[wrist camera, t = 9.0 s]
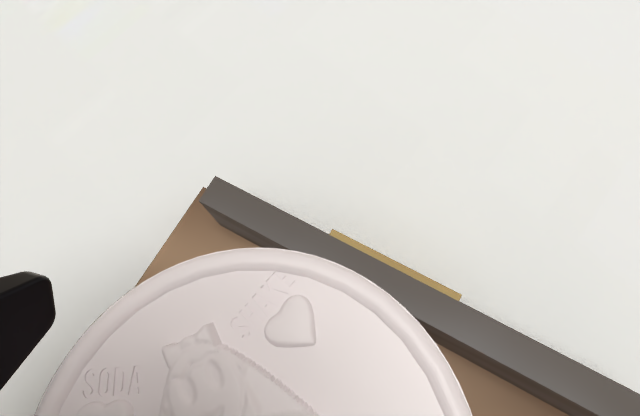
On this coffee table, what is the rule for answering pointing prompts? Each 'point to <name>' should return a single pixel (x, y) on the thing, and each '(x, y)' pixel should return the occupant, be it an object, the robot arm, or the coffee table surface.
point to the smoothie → (255, 346)
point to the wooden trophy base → (421, 302)
